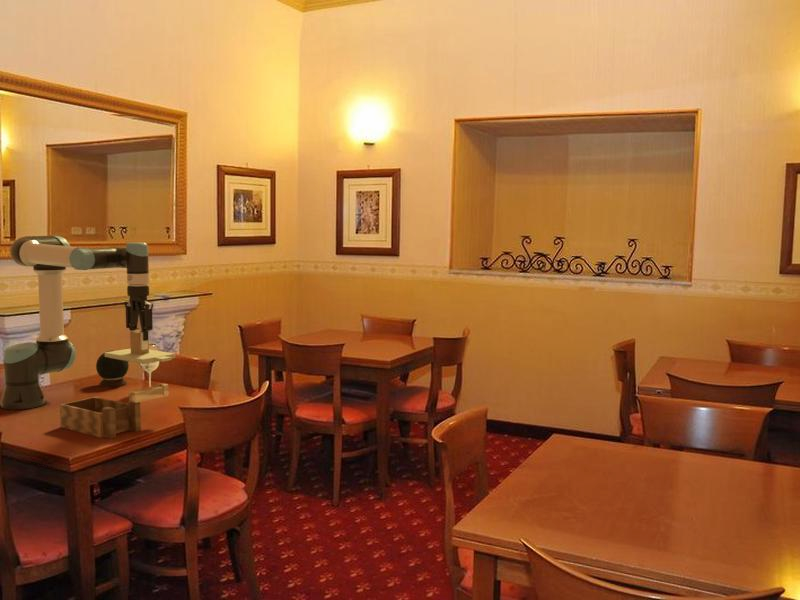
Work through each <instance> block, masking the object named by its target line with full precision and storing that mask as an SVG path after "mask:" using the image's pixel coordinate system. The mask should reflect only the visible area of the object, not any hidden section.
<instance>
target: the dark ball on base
mask: <svg viewBox="0 0 800 600" xmlns="http://www.w3.org/2000/svg"><path fill="white" fill-rule="evenodd" d="M111 351H115V350H108V351H107V350H106V352H111ZM129 366H130V365H129V361H125V360H119V359H114V358H110V357H105V352H103V353H102V354H101V355H100V356H99V357H98V358H97V360H96V365H95V369H96V372H97V374H98V376H99V377H100V378H101V379H102V380H101V381H100V382H98V387H100V388H104V387H105V388H106V389H110V388H112V387H115V388H120V386H122V387H124V385H125V386H127V385H126V384H127V383H128V382H127V381H126V379H124V377H125V376H126V374H127V373H128V371H129Z"/></svg>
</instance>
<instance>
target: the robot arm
mask: <svg viewBox="0 0 800 600" xmlns="http://www.w3.org/2000/svg"><path fill="white" fill-rule="evenodd" d="M9 253H10V257H11V259H12V260H13V262H15V264H18V265H20V266H22V267H32V268H33V271H34V273H36V274H37V281H38V282H37V284H38V306H39V307H38V309H39V311H38V312H39V314H38V315H39V335H38V337H37V338H36V339H35V340H36V341H35V342H32V341H31V342H30V341H29V342H28V341H27V342H21V343H16V344H11V345H10V346H8V347H6V348H5V350H4V352H3V366H4V367H3V368H4V390H3V392H2V395H1V398H0V407H1V408H2V409H3V410H17V411H18V410H26V409H33V408H38V407H41V406H43V405H45V402H46V401H45V399H46V398H45V395H44V393H43V390H42V388H41V386H40V376H41V375H46V374H51V373H56V372H57V373H58V372H59V373H60V372H61V371H65V370H68V369H69V368H71V367H72V365H74V363H75V360H76V348H75V346H74V344H73V343H72V342H70V341H69V337H68V336H67V335H66V334H65V328H64V327H65V326H64V324H65V323H64V302H63V301H64V299H63V297H64V295H63V273H64V272H65V271H66V270H67V268H73V269H74V270H78V271H88V270H89V271H90V270H98V269H99V270H102V269H116V268H117V269H118V268H119V269H126V282H127V283H126V284H127V288H126V289H127V290H126V293H127V296H128V297H129V300H128V301H124V302H123V303H124V307H125V328H126V329H129V331H130V332H131V331H139V327H138V322H140V327H141V328H140V329H141V330H142V331H140V344H141V350H145V349H148V339H149V338H150V337H149V338H148V335H149V332H150V331H153V328H154V327H153V326H154V325H153V309H154V303H150V302H149V301H148V296H150V285H149V284H150V276H149V275H150V274H149V273H150V272H149V271H150V270H149V269H150V268H149V255H150V254H149V247H148V243H147V242H136V241H135V242H134V241H133V242H131V241H130V242H127V243H126V244H125V247H121V246H108V247H79V246H71V245H70V242H68V241H67V239H66V238H64V237H63V236H59V235H52V234H51V235H32V236H31V235H28V236H27V235H26V236H22V237H19V238H17V239H16V240H14V241H13V242H12V244H11V246H10V249H9Z"/></svg>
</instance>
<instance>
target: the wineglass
mask: <svg viewBox="0 0 800 600" xmlns="http://www.w3.org/2000/svg"><path fill="white" fill-rule="evenodd" d="M149 349H150V350H156V351H158V347H157V344H156V343H149ZM159 365H160V361H158V362H152V363H147V364H141V363H139V366H140V369H142V370H143V371H145V372H147V374H148V388H149V387H152V384H151V383H152V382H151V379H152V372H153V371H155V370H157V368H158V367H159Z"/></svg>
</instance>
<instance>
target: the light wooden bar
mask: <svg viewBox="0 0 800 600" xmlns="http://www.w3.org/2000/svg"><path fill="white" fill-rule="evenodd" d="M168 396H169V384H168V383H163V382H158V383H156V385H154V386H151V387H149V386H148V387H145V388H141V389H137V390H132V391H129V392H128V402H133V403H138V402H140V403H142V402H145V401H150V400H153V399H158V398H162V397H168Z"/></svg>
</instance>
